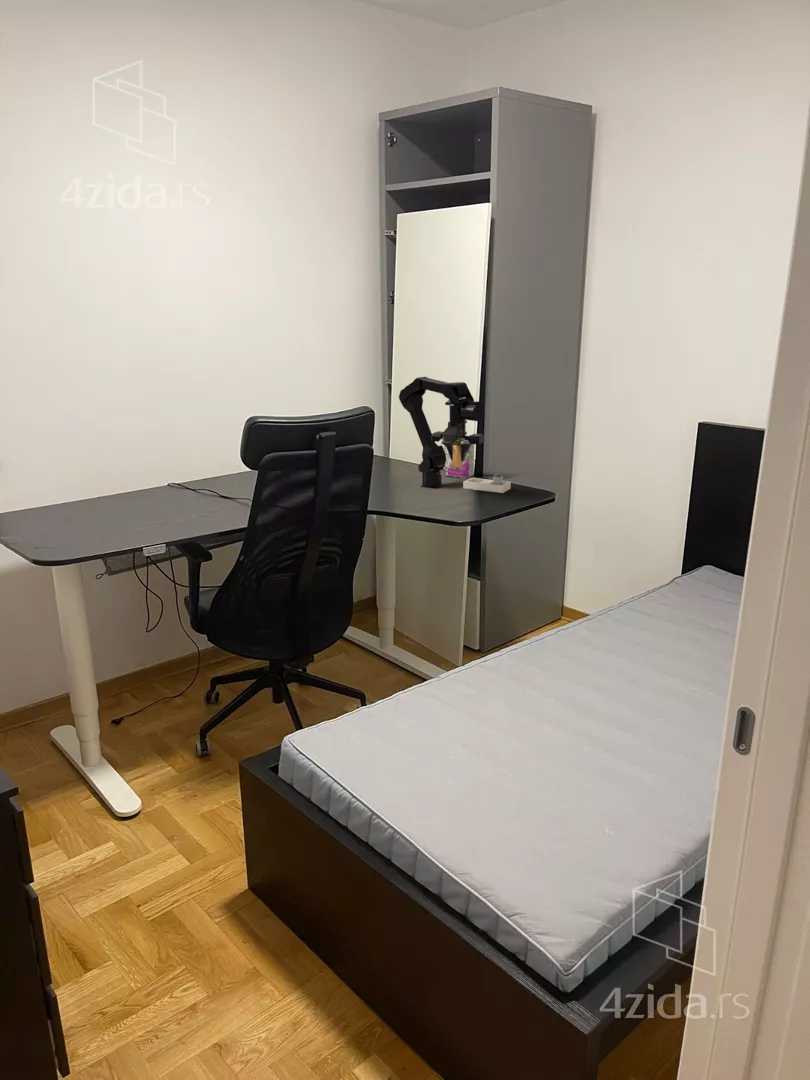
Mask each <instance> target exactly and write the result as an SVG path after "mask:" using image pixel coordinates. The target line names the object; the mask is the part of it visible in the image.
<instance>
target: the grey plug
mask: <svg viewBox="0 0 810 1080" xmlns="http://www.w3.org/2000/svg"><path fill="white" fill-rule="evenodd" d="M492 480H493V484H494V485H503V481H504V476H503V475H502V473H501V472H496V473H494V475H493V477H492Z"/></svg>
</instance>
